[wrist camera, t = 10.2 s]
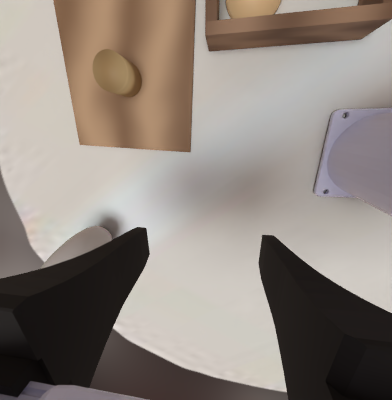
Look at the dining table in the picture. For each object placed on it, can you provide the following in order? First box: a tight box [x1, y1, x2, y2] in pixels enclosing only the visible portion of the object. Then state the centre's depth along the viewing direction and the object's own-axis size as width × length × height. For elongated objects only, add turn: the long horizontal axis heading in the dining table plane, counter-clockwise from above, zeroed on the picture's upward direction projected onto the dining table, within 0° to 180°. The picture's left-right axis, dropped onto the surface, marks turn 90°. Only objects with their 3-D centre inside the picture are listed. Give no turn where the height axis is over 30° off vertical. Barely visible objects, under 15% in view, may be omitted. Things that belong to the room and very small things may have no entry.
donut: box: [40, 226, 112, 269], centre depth 22 cm, size 10×4×10 cm, turn 145°
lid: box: [53, 0, 196, 152], centre depth 17 cm, size 13×13×4 cm
